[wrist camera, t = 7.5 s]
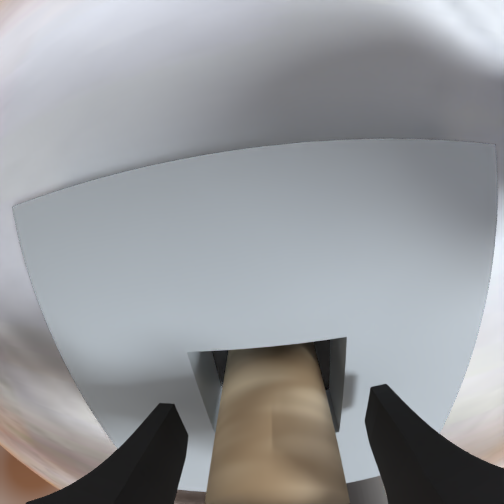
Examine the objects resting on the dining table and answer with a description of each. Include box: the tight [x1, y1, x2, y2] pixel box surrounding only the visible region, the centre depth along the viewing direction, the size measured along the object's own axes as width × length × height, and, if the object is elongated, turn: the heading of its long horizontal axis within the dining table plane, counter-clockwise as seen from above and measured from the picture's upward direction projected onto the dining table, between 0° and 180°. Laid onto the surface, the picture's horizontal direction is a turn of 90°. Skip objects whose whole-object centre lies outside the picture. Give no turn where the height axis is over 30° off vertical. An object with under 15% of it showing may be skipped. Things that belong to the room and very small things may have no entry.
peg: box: [205, 342, 350, 504], centre depth 9 cm, size 4×4×8 cm
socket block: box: [12, 138, 497, 492], centre depth 12 cm, size 18×18×3 cm
